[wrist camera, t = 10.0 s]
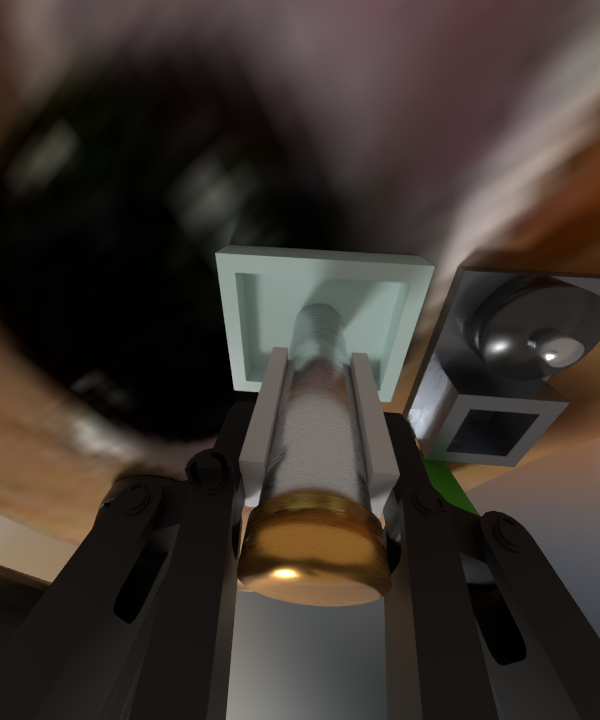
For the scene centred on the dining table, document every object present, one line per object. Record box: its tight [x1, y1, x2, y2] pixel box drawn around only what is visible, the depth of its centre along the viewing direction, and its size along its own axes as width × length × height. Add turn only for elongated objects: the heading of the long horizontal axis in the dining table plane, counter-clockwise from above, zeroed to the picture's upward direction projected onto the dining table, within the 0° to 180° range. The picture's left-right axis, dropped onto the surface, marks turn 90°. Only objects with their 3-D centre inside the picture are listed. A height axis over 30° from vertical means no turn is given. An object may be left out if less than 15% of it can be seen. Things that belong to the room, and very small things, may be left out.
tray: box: [215, 245, 435, 402], centre depth 18 cm, size 12×10×2 cm
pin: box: [237, 303, 392, 606], centre depth 12 cm, size 4×4×14 cm
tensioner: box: [402, 267, 600, 467], centre depth 18 cm, size 9×15×5 cm, turn 178°
